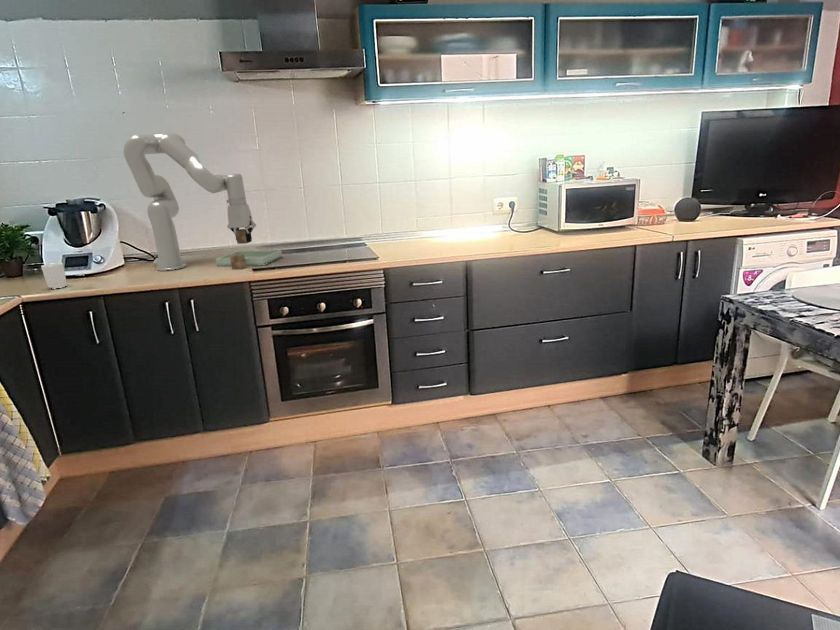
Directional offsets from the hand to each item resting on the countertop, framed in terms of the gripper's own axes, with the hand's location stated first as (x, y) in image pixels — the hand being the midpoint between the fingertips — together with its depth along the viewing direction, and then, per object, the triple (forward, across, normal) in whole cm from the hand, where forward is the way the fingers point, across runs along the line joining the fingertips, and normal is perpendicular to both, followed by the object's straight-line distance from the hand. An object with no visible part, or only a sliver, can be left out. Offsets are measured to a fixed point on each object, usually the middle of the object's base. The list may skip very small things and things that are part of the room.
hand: (244, 241), depth 264 cm
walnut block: (+1, 0, 0) cm, 1 cm away
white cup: (+10, -64, -44) cm, 79 cm away
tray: (+10, 0, +3) cm, 11 cm away
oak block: (+10, +2, -11) cm, 15 cm away
